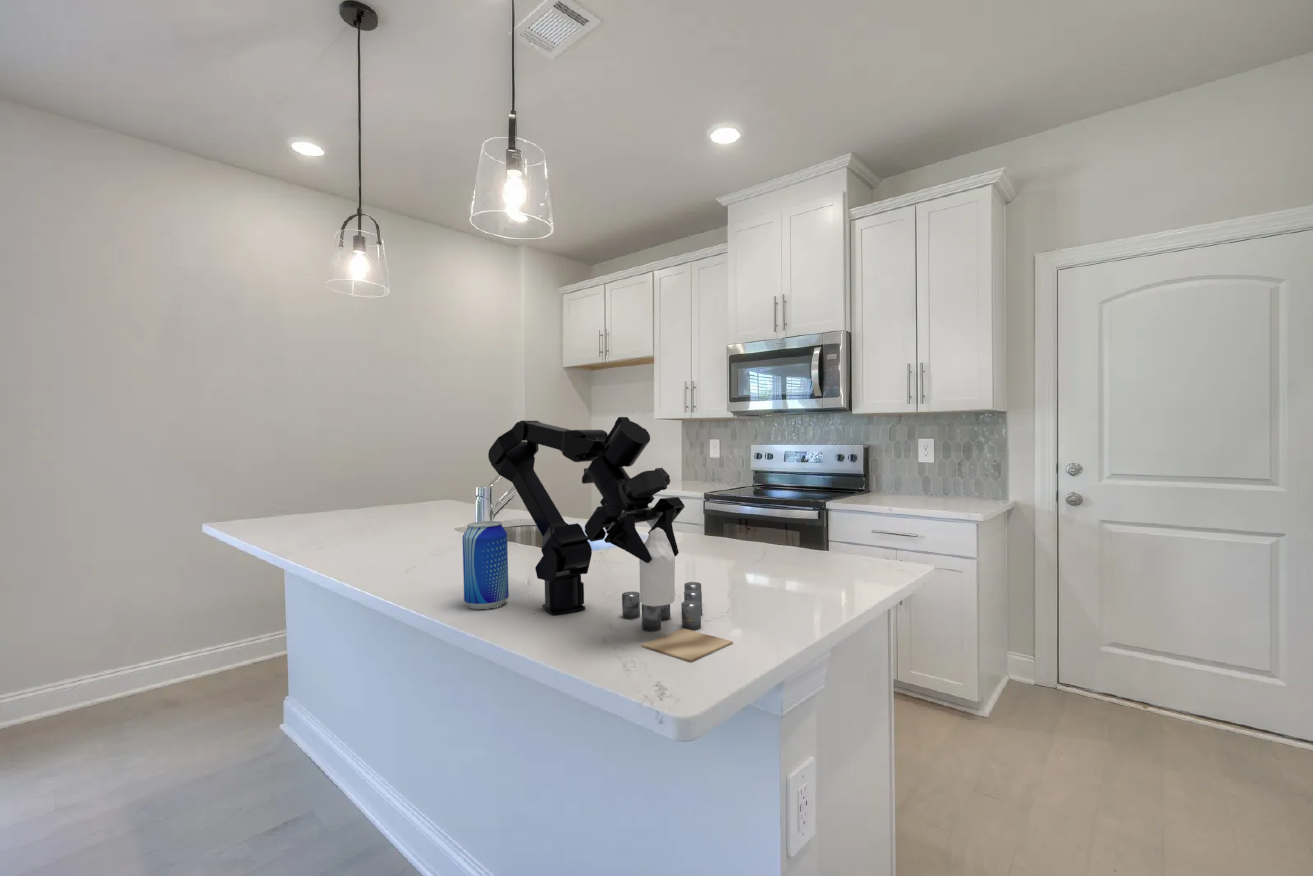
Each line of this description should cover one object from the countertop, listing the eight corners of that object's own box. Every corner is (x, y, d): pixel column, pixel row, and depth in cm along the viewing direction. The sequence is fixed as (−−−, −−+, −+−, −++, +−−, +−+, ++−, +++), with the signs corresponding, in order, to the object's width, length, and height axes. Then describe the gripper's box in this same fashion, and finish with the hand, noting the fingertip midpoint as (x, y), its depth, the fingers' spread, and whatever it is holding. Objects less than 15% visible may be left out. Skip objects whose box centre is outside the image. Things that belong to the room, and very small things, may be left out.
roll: (657, 522, 99) (682, 526, 95) (659, 594, 99) (683, 600, 95) (631, 527, 95) (655, 531, 91) (632, 602, 95) (656, 608, 91)
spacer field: (655, 637, 95) (655, 612, 95) (619, 615, 107) (619, 593, 107) (739, 621, 102) (738, 598, 102) (696, 602, 115) (695, 581, 115)
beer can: (485, 613, 111) (482, 527, 111) (454, 607, 115) (452, 525, 115) (517, 602, 118) (515, 521, 118) (488, 597, 122) (486, 519, 122)
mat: (641, 646, 91) (641, 644, 91) (683, 630, 98) (683, 628, 98) (691, 662, 84) (691, 660, 84) (732, 643, 91) (732, 641, 91)
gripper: (595, 454, 91) (647, 533, 84) (675, 450, 105) (727, 518, 97) (564, 502, 97) (611, 580, 89) (644, 493, 110) (691, 560, 103)
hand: (663, 558), depth 94 cm, fingers closed on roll, 6 cm apart
